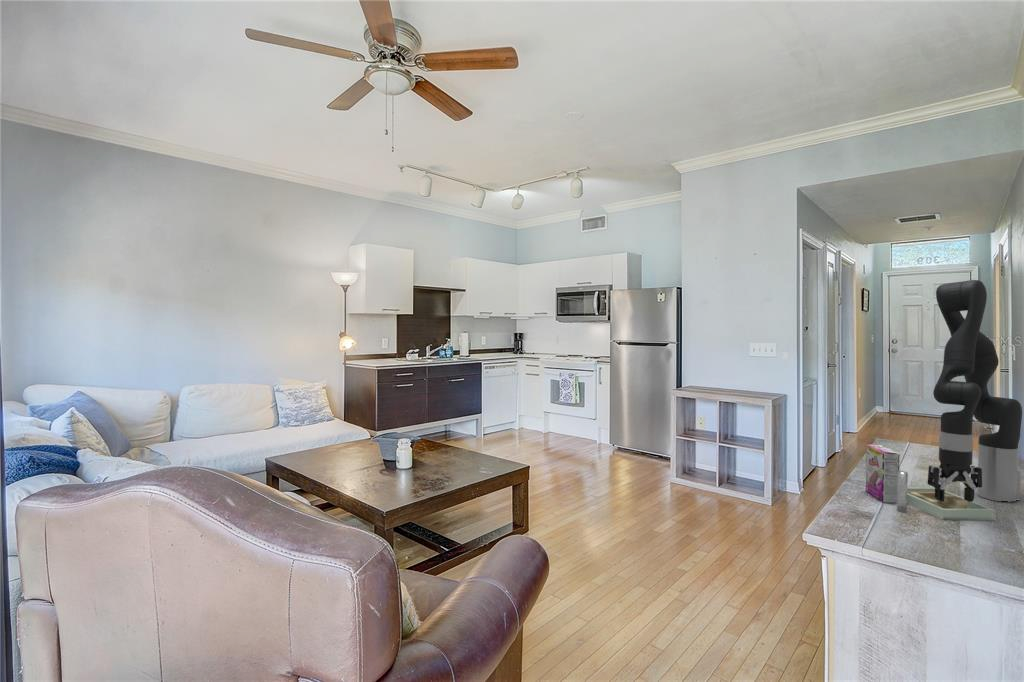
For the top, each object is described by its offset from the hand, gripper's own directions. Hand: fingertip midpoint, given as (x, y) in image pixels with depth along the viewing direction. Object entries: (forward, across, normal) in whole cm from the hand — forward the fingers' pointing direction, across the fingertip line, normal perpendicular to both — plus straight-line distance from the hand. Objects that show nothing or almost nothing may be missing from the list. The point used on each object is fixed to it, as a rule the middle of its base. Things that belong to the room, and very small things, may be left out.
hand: (954, 500), depth 148 cm
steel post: (+4, +14, -2) cm, 15 cm away
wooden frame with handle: (+3, 0, -4) cm, 5 cm away
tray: (+4, 0, -5) cm, 6 cm away
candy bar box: (+4, +12, -14) cm, 19 cm away
